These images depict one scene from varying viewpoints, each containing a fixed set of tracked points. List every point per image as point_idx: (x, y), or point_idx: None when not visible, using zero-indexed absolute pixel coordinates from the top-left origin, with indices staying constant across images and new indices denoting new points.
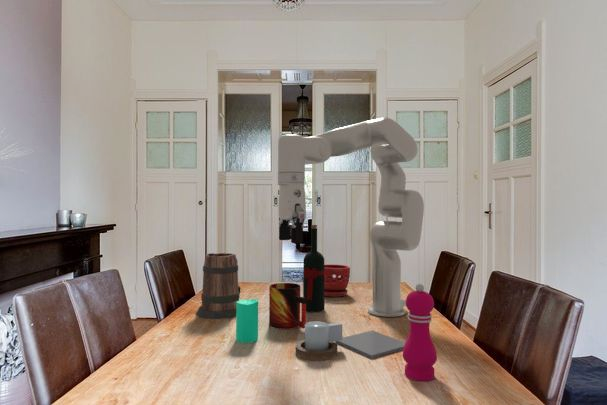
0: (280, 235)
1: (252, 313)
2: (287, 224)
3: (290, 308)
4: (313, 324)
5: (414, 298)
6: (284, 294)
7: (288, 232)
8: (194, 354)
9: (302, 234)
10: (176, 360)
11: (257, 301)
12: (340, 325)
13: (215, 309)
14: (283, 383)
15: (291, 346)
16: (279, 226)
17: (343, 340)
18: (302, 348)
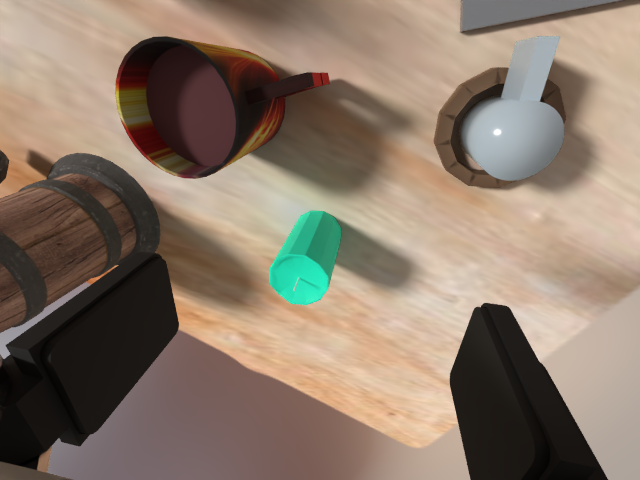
0: (155, 355)
1: (332, 263)
2: (19, 402)
3: (266, 110)
4: (508, 150)
5: None
6: (245, 140)
7: (117, 312)
8: (355, 330)
9: (542, 376)
10: (368, 354)
11: (314, 261)
12: (555, 45)
13: (132, 245)
14: (579, 266)
15: (414, 166)
16: (74, 441)
17: (488, 6)
18: (492, 177)
